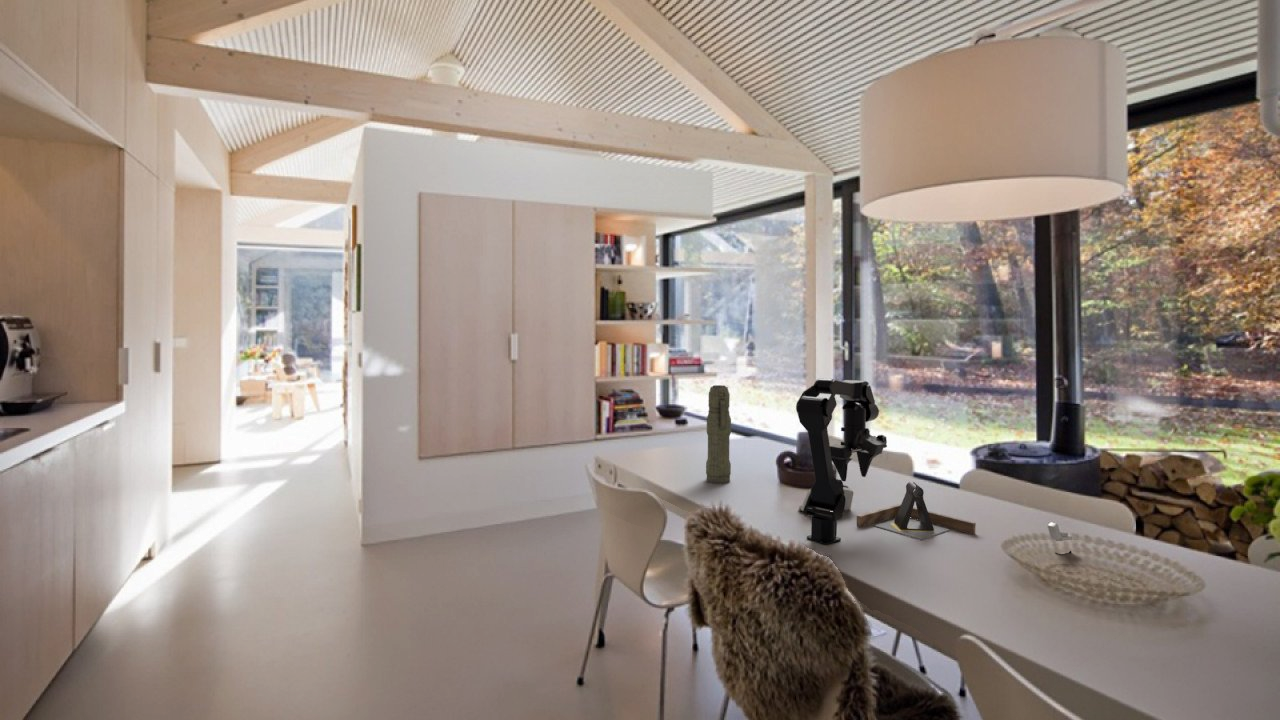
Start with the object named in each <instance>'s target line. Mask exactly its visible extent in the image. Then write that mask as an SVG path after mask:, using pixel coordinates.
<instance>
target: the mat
mask: <svg viewBox="0 0 1280 720" xmlns="http://www.w3.org/2000/svg"><path fill="white" fill-rule="evenodd" d="M894 521H895V519H892V520H889V521H884V522H882V523H877V524H875V525H874V527H875V528H879V529H882V530H884V531H885V530H886V531H889V532H893V533H895V534H898V535H903V536H905V535H906V537H909V536H910V537H909V538H912V537H913V539H917V540H919V541H924V540H926V539H929V538H932V537H935V536H938V535H940V534H944V533H946V532H949V531H951V529H950V528H947V527H943V526H939V525H935V524H932V525H933V528H934V531H919V530H901V529H900V528H899V527H898V526H897V525H896V524H895V523H894ZM909 522H911V523H920V520H917V519H913V518H910V519H909Z"/></svg>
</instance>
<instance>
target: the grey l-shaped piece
mask: <svg viewBox="0 0 1280 720" xmlns="http://www.w3.org/2000/svg"><path fill="white" fill-rule="evenodd" d="M1047 529H1048V532H1049V536H1050V538H1051V540H1053V541H1055V540H1056V541H1063V540H1072V541H1073V535H1070V534H1069V533H1068V531H1065V530H1062V531H1060V528H1059V525H1058V523H1055V522H1050V523H1049V524H1047Z"/></svg>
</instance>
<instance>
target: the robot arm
mask: <svg viewBox="0 0 1280 720" xmlns="http://www.w3.org/2000/svg"><path fill="white" fill-rule="evenodd" d="M820 394H823V395H830V396H829V398H827V397H819V395H820ZM836 396H839V398H840V399H843V400H844V401H845V404H844V405H842V410H844V419H843V420H844V423H843V425H844V426H842V427H841V428H840V432H844V433H843V440H842V441H840V444H832V445H831V444H830V438H829V433H828V432H829V431H828V426H829V425H830V423H831V421H832V419H833V412H834V411H835V409H836V407H837V406H838V404H837V400H836ZM795 410H796V413H797V417H798V420H799V423H800V424H801V425H802V426H803V427H804V429H805V431H807V436H808V443H809V448H810V455H811V461H812V467H813V475H814V482H813V484H812V486H811V488H810V489H811V494H810V496H809V499H808V501H807V504H806V506H805V511H804V513H805V514H804V515H805V516H808V515H809V516H810V517H811V527H810V530H811V534H810V535H806V539H808V540H811V541H813V542H817V543H819V544H822V545H830V544H833V543H836V542H840V541H841V539H842V538H841V537H838V536H837V533H838V532H837V530H838V529H837V528H838V526H837V525H838V522H837V521H839V520H841V519H843V518H844V512H845V510H844V507H845V500H846V499H845V496H844V494H845V492H844V490H843V484H844V482H846V481H847V476H848V467H849V466H848V465H849V463H850V462H851V461H852V460H853V458H851V457H852V455H853V453H856V456H857V461H858V466H859V471H860V475H861V477H863V478H866V477H867V474H868V471H869V468H870V466H871V464H872V461H873V459H874V458H876V457H877V456H879V455H880V454H882V453H883V451H884V449H887V447H888V445H887V443H888V441H887V436H886V435H884V434H878V435H877V436H876V435H871V434H870V429H869V428H867V427H866V423H869V422H871V421H874V420H876V419H878V417H879V415H880V410H879V407H878V405H877V404H876V401H875V397H874V394H873V391H872V387H871V385H870V384H869V382H868V380H867V381H866V380H854V379H853V380H852V379H845V380H836V379H834V378H826V377H825V378H824V377H823V378H821V377H820V378H818V379H816V380H815V382H814V384H813V385H811V386H810V387H808V388H807V389H806V390H804V391H803V392H802V394H801V395H800V397H799V398H798V400H797V403H796V406H795ZM833 466H834V467H835V469H836V470H837V471H836V472H837V474H838V476H839V477H840V479H837V478H835V475H834V474H835V473H834V467H833ZM816 507H817V508H821V509H826V510H831V511H833V512H830V511H825V510H820V509H816Z"/></svg>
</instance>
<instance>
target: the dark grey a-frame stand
mask: <svg viewBox="0 0 1280 720" xmlns="http://www.w3.org/2000/svg"><path fill="white" fill-rule="evenodd" d="M905 489H906V490H905V494H904V497H903V499H902V501H901V504H900V505H901V506H900V509H899V511H898V513H897V516H896V517H894V518H895V519H894V520H895V521H894V523H895V524H896V525H897V526H898V527H899V528H900V529H901V530H919V531H934V528H933V525H934V524H932V522H931V519H930V516H929V513H928V511H929V510H928V508H927V505H926V502H925V500H924V499H925V498H924V492H925V491H924V489H923V488H922V487H920V486H919V485H918V484H917V483H916V482H915V481H914V482H913V483H912V482H911V481H909V482H908V483H906V486H905ZM915 505H916V508H917V510H918V514H919V518H920V520H919V521H920V523H911V522H909V519H911V518H910V516H911V513H912V510H913V507H915Z"/></svg>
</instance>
